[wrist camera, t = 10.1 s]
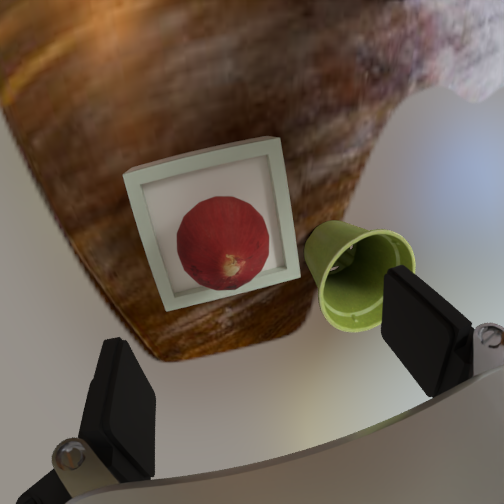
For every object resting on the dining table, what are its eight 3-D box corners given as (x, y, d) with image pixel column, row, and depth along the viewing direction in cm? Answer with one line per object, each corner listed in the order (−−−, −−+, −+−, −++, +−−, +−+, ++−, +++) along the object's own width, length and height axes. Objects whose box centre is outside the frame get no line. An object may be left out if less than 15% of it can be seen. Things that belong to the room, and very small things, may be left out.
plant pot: (279, 216, 31) (312, 250, 23) (364, 194, 32) (416, 218, 24) (295, 298, 35) (325, 346, 27) (371, 272, 36) (414, 310, 28)
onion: (252, 260, 25) (282, 317, 18) (177, 262, 24) (179, 323, 17) (257, 186, 23) (293, 218, 16) (176, 186, 22) (174, 219, 15)
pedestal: (258, 134, 28) (279, 137, 21) (278, 246, 32) (300, 277, 26) (137, 163, 26) (122, 174, 20) (168, 274, 31) (166, 311, 25)
